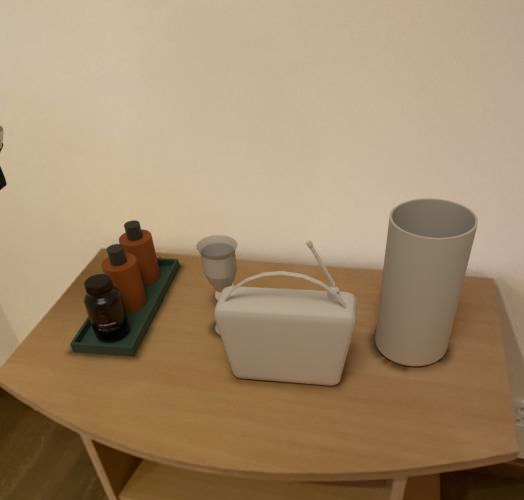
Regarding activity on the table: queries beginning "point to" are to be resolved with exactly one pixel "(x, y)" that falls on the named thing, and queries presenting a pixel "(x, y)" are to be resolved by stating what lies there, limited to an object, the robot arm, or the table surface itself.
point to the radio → (287, 330)
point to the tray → (130, 318)
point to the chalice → (218, 261)
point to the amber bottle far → (141, 251)
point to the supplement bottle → (105, 309)
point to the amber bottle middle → (125, 277)
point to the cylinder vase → (423, 278)
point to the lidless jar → (218, 294)
